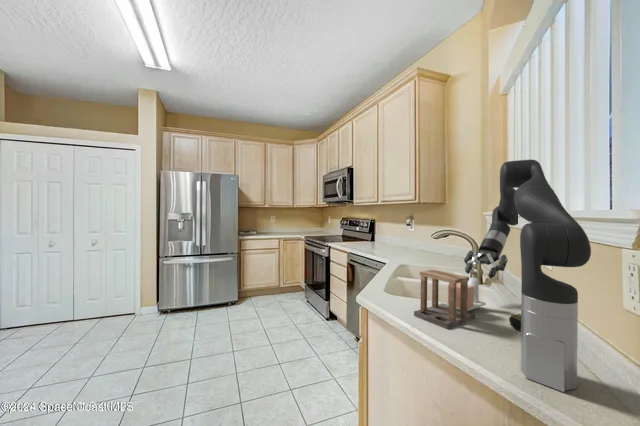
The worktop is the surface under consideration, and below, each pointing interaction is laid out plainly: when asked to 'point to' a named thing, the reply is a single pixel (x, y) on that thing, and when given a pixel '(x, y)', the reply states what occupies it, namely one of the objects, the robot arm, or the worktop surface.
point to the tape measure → (515, 321)
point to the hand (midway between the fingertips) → (478, 274)
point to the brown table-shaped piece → (442, 312)
